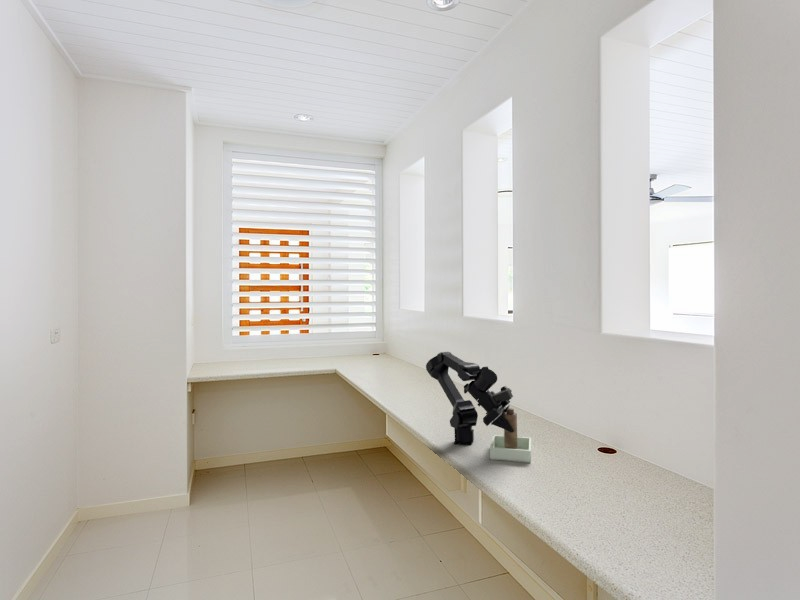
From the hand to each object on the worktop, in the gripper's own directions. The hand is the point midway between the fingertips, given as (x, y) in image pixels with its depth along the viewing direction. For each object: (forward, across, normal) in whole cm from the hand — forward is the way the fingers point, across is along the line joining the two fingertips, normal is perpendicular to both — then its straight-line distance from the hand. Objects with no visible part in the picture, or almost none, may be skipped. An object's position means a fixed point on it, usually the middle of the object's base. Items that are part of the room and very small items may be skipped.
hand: (514, 429), depth 157 cm
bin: (+5, 0, +7) cm, 9 cm away
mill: (+4, 0, +6) cm, 7 cm away
